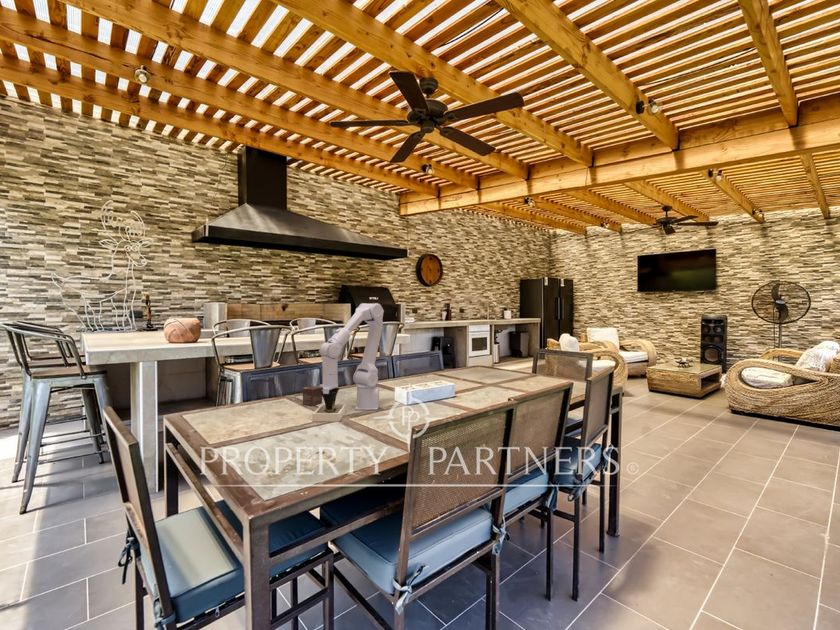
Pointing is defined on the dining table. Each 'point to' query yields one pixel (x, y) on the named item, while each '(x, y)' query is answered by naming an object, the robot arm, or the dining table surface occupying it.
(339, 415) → the tray
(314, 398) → the box
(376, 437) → the dining table surface
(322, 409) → the socket plate
